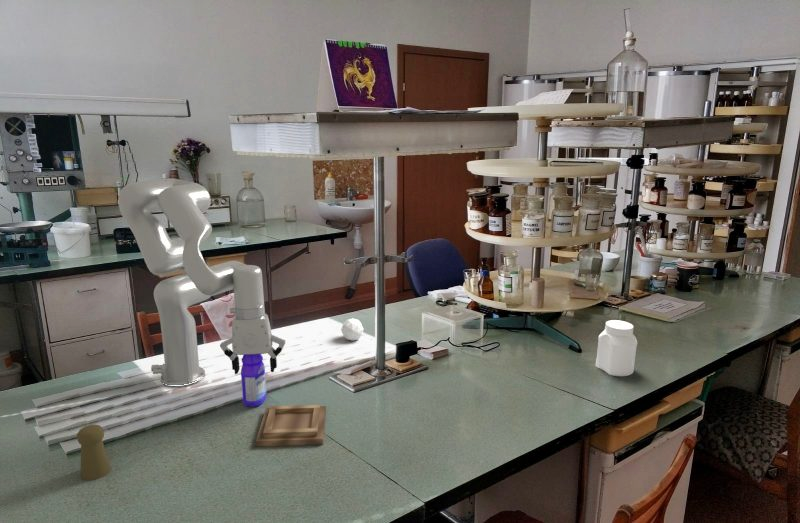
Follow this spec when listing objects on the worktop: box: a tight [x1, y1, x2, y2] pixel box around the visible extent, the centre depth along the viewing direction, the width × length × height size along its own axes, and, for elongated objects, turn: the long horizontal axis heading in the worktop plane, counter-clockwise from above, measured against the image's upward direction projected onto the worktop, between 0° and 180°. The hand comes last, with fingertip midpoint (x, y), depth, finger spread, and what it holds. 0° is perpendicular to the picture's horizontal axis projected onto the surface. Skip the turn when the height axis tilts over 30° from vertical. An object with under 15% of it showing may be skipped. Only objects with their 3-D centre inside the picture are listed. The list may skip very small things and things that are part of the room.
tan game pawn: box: [76, 424, 112, 481], centre depth 125 cm, size 6×6×11 cm
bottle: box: [240, 354, 267, 408], centre depth 156 cm, size 7×6×17 cm
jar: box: [595, 319, 638, 377], centre depth 180 cm, size 12×10×15 cm
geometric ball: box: [341, 317, 365, 342], centre depth 201 cm, size 8×8×8 cm
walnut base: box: [255, 404, 327, 447], centre depth 145 cm, size 16×16×3 cm
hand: (255, 371), depth 155 cm, fingers open, 9 cm apart
